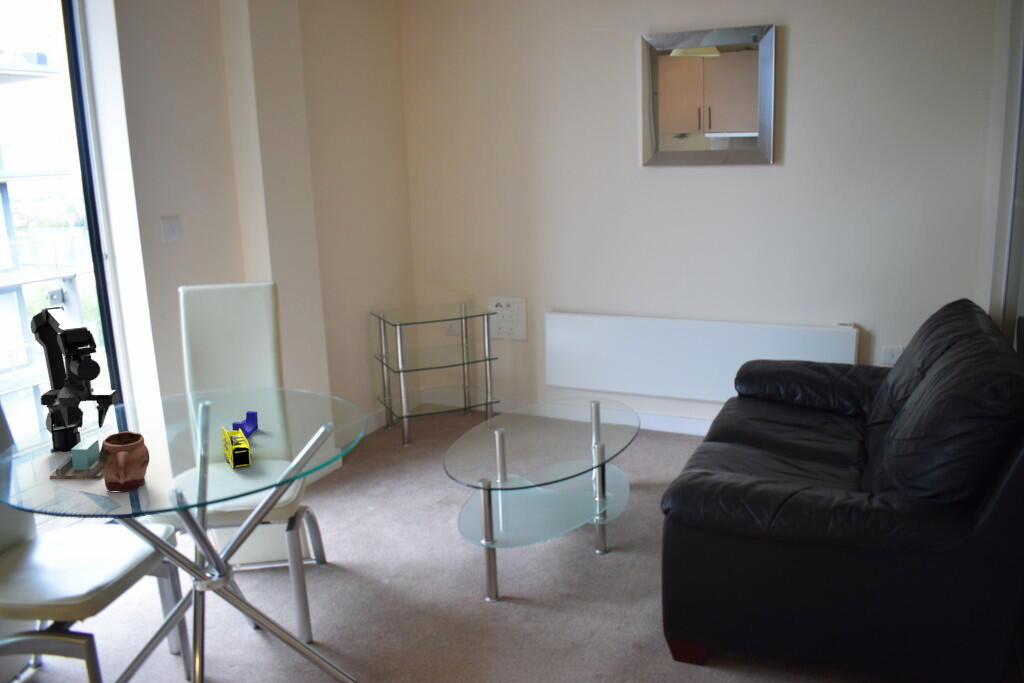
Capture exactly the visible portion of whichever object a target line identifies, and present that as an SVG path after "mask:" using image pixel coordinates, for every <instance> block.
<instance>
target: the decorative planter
mask: <svg viewBox="0 0 1024 683" xmlns="http://www.w3.org/2000/svg"><path fill="white" fill-rule="evenodd" d="M99 452H100V453H99V456H98V464H99V467H100V470H101V472H102V474H103V479H104V485H105V487H106V490H107V491H108V490H109V491H108V492H110V491H126V492H129V491H128V490H132V491H134V489H135V490H137V489H139V488H141V487H143V486H144V484H145V481H146V480H145V478H146V477H145V476H146V473H147V469H148V466H149V464H150V452H149V449H148V446H146V444H145V437H144V436H143V435H142V433H141V432H134V431H130V430H125V431H121V432H117V433H113V434H110V435H108V436H107V437H106V438H105V439H103V441H102V446H101V447H100V449H99Z"/></svg>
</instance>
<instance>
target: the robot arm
mask: <svg viewBox="0 0 1024 683" xmlns="http://www.w3.org/2000/svg"><path fill="white" fill-rule="evenodd" d="M30 330H31V333H32V334H33V335H34V338H35V341H36V342H37V343H38V344H39V345H40V346H41V347H42V348H43V353H44V357H45V364H46V370H47V374H48V380H49V385H50V389H49V390H47V391H46V392H44V393H43V394H42V395H41V396H40V405H41V406H45V407H46V408H47V409H48V412H47V414H46V418H45V427H46V428H45V429H46V430H47V431H48V432H50V434H51V441H52V448H51V449H50V452H52V453H53V452H54V453H55V452H56V453H57V452H60V453H62V452H64V453H65V452H67V453H68V452H69V453H71V449H72V448H73V447H75V446H76V445H77V444H78V443H79V442H81V441H82V438H81V432H80V431H79V428H83V420H84V419H83V417H84V411H83V410H82V409H81V407H80V404H81V402H96V404H97V405H96V406H95V408H96V409H97V419H98V422H97V423H98V428H99V429H101V428H102V427H103V425H104V422H105V419H106V416H107V413H108V410H109V409H110V408H111V406H113V405H114V404H116V403H117V402H118V401H119V400H120V392H118V391H117V389H103V390H102V391H100V392H98V393H93V392H94V387H92V383H91V381H94V380H96V379H97V378H98V377H99V376H100V375H101V374H100V373H101V366H100V363H98V362H97V361H96V360H94V359H92V355H91V354H96V353H97V344H96V341H95V338H94V335H93V333H91V330H90V329H88V327H87V326H86V325H84V324H82V323H76V322H74V321H73V319H72V318H70V316H69V315H68V314H67V313H66V312H65V310H64V307H63V306H60V305H55V306H48V307H47V306H46V307H44V308H42V309H41V311H40V312H39V313H37V314H35V315H34V316H32V318H31V321H30Z"/></svg>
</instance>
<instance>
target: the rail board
mask: <svg viewBox="0 0 1024 683" xmlns="http://www.w3.org/2000/svg"><path fill="white" fill-rule="evenodd" d="M103 478H104V476H103V474H102V472H101V470H100V467H99V464H98V459H97V460H96V461H95V462H94V463H93V464H92V465H91V466H90V467H89V468H88V469H87V470H73V462H72V454H71V455H70V456H69V457H68V458H66V460H64V461H63V462H62V463H60V464H59V465H58V466H57V467H56V468H55V470H54V472H52V473H51V474H50V475H49V480H101V479H103Z"/></svg>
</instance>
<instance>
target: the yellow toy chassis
mask: <svg viewBox="0 0 1024 683" xmlns="http://www.w3.org/2000/svg"><path fill="white" fill-rule="evenodd" d="M221 443H222V444H221V445H222V451H223V452H224V459H225V461H226V462H229V464H230V466H231V467H232V469H233V468H241V467H242V468H243V467H247V466H251V462H252V461H251V458H252V455H251V448H250V444H249V441H248V438H247V439H246V438H245V436H244V434H243V433H242V431H241V429H239V431H236V430H234V431H233V430H227V428H225V427H224V426H222V427H221Z"/></svg>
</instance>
